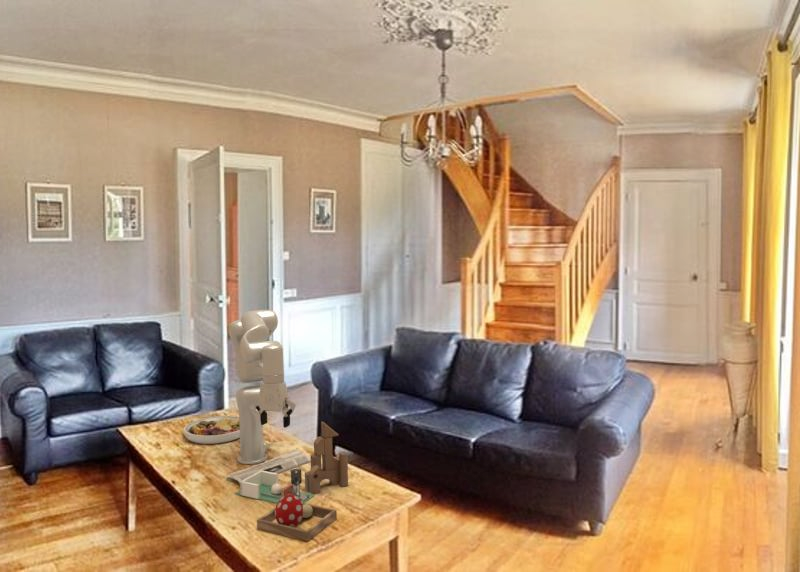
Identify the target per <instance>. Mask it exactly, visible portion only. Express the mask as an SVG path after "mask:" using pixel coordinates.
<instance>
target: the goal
mask: <svg viewBox="0 0 800 572" xmlns="http://www.w3.org/2000/svg"><path fill="white" fill-rule="evenodd" d="M278 477H279V474H277V473H272V472H267V471H262V470H260V471H259V472H257V473H255V474H253V475H251V476H250V477H248V478H246V479H244V480H242V481H241V482H239V483H240V485H239V490H240V495H239V496H241V495H243V497H246V496H247V497H246V498H250V497H252V498H251V499H255V498H256V500H259V499H258V498H259V485H261V484H263V485H268V486H273V485H274V484H276V483H278V484H279V478H278Z"/></svg>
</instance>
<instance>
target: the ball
mask: <svg viewBox="0 0 800 572" xmlns="http://www.w3.org/2000/svg"><path fill="white" fill-rule="evenodd" d="M282 488H283V486H282V484H280V483H279V482H278V483H276V484H274V485H273V486H272V487H271V492H272V493H273V494H274V495H278V494H280V493H281V490H282Z"/></svg>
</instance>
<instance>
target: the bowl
mask: <svg viewBox="0 0 800 572" xmlns="http://www.w3.org/2000/svg"><path fill="white" fill-rule="evenodd" d="M183 433H184V434H183V435H184V437H185V438H186V439H187V440H188V441H191V442H192V443H196V444H199V445H200V444H202V445H216V444H217V445H218V444H223V443H229V442H233V441H235V440H237V439H240V424H239V416H235V415H219V416H210V417H206V418H205V417H204V418H201V419H197V420H193V421H191V422H189V423H188V424H187V425H185V426H184V428H183Z"/></svg>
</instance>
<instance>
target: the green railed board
mask: <svg viewBox="0 0 800 572" xmlns="http://www.w3.org/2000/svg"><path fill="white" fill-rule="evenodd" d="M270 487H272V486H268V485H263V484H261V485H259V498H258V499H256V498H254V499H256V500H259V501H265V502H268V503H269V502H270V503H272V504H277V503H278V501H279V500H280V499H276V498H271V497H267V496H262V495H261V493H262V492H265V493H269V494H273V493H272V492H271V490H269V488H270ZM283 488H284V487H282V489H283ZM300 493H302V494H307V495H311V498H307V499H305V500H304V501H303V503H306V502H308V501H309V500H311V499H313V498H314V497H315V495H316V494H311V493H310V492H309V493H308V492H303V491H300ZM234 494H235V495H238V496H241V497H242V496H243V495H240V489H239V490H237V491H235V492H234ZM278 496H281V493H280V494H278ZM243 497H244V496H243ZM245 497H246V498H248V497H247V496H245ZM249 498H251V499H253V498H252V497H249Z"/></svg>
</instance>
